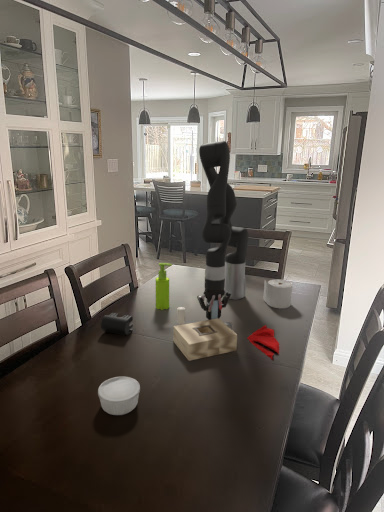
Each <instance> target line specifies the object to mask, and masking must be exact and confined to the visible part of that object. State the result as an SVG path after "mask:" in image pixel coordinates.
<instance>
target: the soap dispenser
mask: <svg viewBox="0 0 384 512" xmlns="http://www.w3.org/2000/svg"><path fill="white" fill-rule="evenodd" d="M172 265H173V263H169V262H160V263H158V266H159V267H160V269H159V270H158V277H155V309H157V310H159V309H161V311H164V310H163V309H166V310H168V309H169V308H170V277H167V270H166V269H165V267H166V266H167V267H172Z"/></svg>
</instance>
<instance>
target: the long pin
mask: <svg viewBox="0 0 384 512" xmlns="http://www.w3.org/2000/svg"><path fill="white" fill-rule="evenodd" d="M217 318H218V300H216V301H214V302H213V306H212V308H211V319H217Z"/></svg>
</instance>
